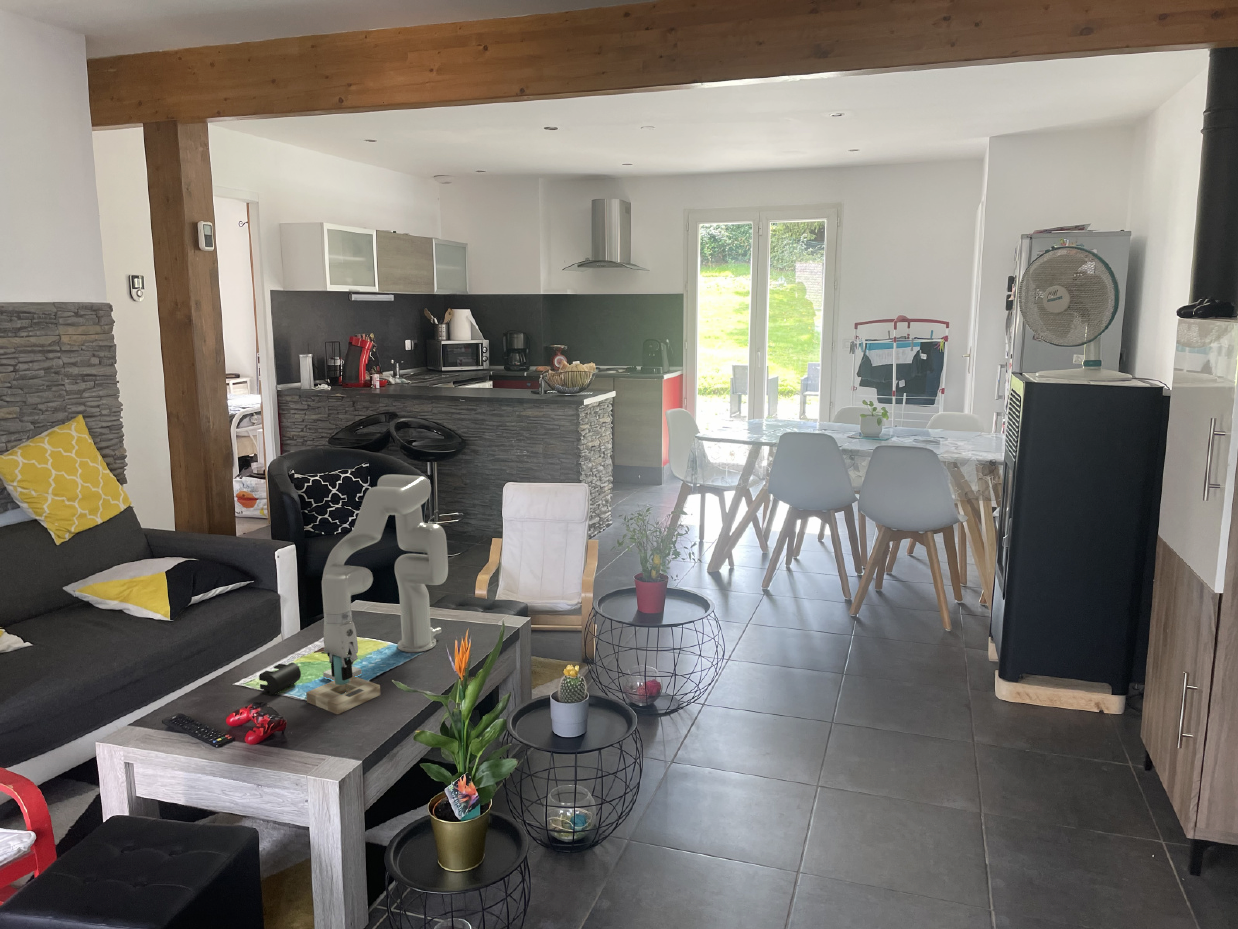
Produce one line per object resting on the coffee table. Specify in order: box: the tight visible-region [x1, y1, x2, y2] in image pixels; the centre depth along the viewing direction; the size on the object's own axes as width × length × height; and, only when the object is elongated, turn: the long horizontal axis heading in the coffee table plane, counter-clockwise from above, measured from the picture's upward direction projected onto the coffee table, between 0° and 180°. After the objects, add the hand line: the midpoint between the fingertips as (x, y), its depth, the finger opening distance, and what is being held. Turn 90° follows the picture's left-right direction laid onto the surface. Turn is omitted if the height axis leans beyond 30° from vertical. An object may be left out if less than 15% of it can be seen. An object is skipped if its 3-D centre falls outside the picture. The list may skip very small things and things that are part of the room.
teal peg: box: [333, 655, 350, 685], centre depth 252 cm, size 4×4×8 cm
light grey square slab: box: [322, 665, 363, 680], centre depth 268 cm, size 8×8×2 cm
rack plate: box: [305, 676, 381, 715], centre depth 253 cm, size 15×14×3 cm
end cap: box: [258, 662, 302, 697], centre depth 260 cm, size 10×7×7 cm
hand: (342, 676), depth 252 cm, fingers closed on teal peg, 4 cm apart
